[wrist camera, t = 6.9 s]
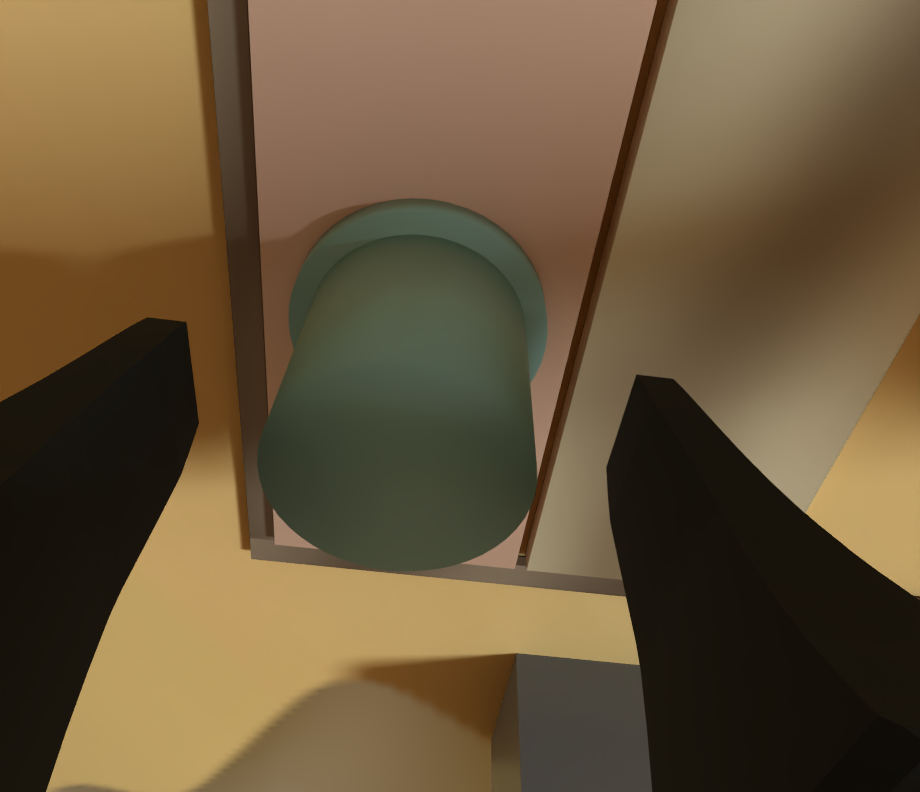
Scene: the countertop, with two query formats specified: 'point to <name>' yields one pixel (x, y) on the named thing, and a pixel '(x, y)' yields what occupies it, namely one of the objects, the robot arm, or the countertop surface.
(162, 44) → the countertop surface
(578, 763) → the die
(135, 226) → the countertop surface
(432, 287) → the teal flanged knob
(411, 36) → the board
